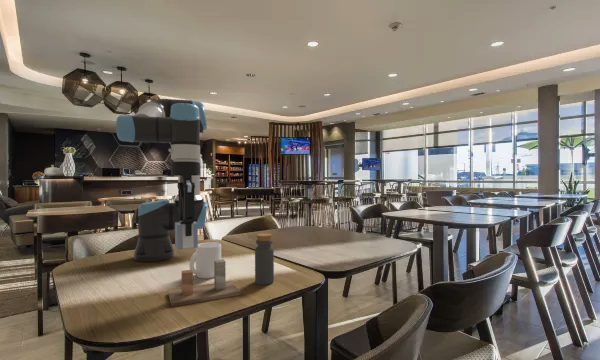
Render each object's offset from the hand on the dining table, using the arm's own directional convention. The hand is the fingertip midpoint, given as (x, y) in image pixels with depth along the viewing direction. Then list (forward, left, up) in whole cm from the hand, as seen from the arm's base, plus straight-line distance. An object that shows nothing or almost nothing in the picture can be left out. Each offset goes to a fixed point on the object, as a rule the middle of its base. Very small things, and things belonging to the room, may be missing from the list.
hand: (186, 245), depth 88 cm
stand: (0, +5, -14) cm, 15 cm away
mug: (-17, +8, -15) cm, 24 cm away
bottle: (-2, +24, -15) cm, 28 cm away
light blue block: (0, 0, 0) cm, 0 cm away
